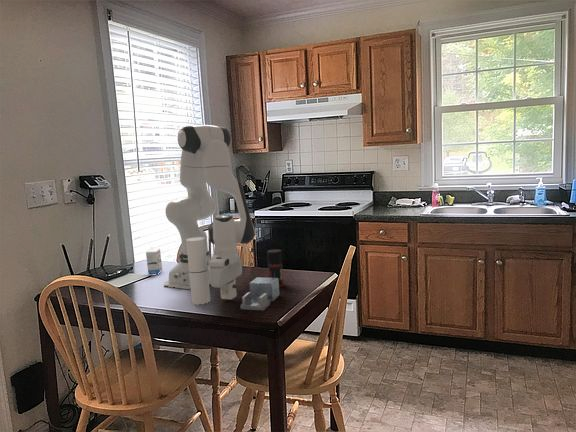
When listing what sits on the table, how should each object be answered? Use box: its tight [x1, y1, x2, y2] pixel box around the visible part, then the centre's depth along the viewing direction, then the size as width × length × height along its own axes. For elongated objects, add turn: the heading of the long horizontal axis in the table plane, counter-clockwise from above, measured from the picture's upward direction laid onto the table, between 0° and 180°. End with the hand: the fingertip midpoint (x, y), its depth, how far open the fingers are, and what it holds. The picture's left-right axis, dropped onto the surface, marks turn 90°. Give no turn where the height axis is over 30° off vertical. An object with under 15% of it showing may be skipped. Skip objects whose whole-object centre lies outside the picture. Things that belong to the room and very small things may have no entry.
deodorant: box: [266, 248, 284, 288], centre depth 200 cm, size 6×6×15 cm
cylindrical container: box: [186, 237, 211, 306], centre depth 183 cm, size 7×7×25 cm
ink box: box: [145, 248, 163, 275], centre depth 235 cm, size 9×5×12 cm, turn 179°
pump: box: [220, 280, 240, 301], centre depth 183 cm, size 4×6×6 cm
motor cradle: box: [240, 276, 280, 311], centre depth 181 cm, size 20×9×7 cm, turn 162°
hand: (228, 291), depth 184 cm, fingers closed on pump, 4 cm apart
